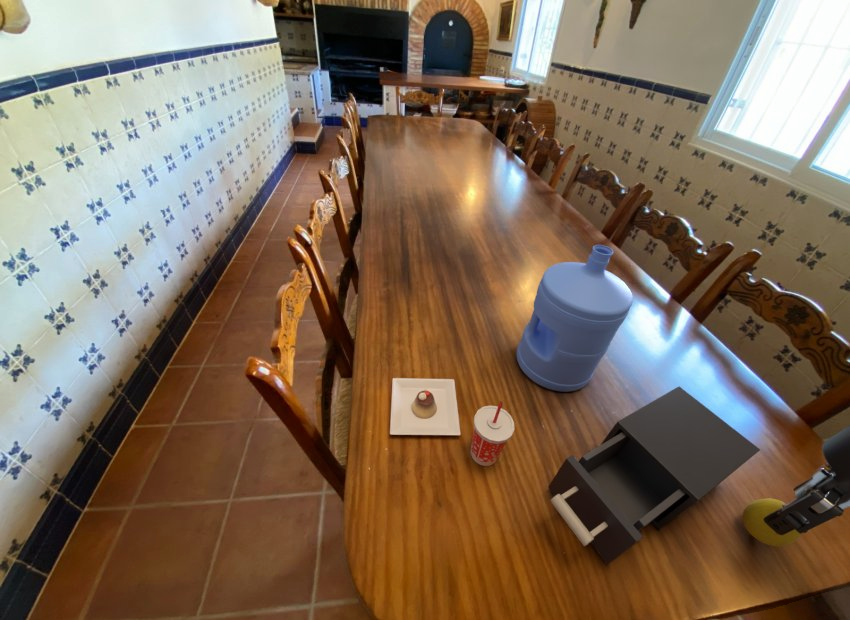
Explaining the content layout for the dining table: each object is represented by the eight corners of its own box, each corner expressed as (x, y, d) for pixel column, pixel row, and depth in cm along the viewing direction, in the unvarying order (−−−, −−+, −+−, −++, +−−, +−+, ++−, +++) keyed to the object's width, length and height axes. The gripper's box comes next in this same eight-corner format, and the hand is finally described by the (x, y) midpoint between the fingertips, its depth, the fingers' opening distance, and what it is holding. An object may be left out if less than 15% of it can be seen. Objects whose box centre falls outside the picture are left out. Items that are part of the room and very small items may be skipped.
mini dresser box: (584, 583, 46) (611, 562, 40) (526, 500, 53) (542, 472, 48) (672, 512, 53) (706, 486, 48) (611, 448, 61) (633, 418, 55)
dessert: (453, 382, 70) (456, 366, 67) (459, 438, 61) (463, 422, 58) (392, 381, 70) (392, 365, 67) (389, 438, 60) (389, 422, 57)
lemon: (722, 514, 55) (756, 490, 49) (753, 510, 55) (791, 487, 50) (751, 556, 50) (792, 535, 45) (784, 552, 51) (829, 531, 46)
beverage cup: (509, 452, 60) (530, 402, 51) (488, 478, 56) (507, 430, 47) (479, 429, 63) (495, 378, 54) (458, 452, 59) (471, 402, 50)
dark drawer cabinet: (658, 530, 52) (699, 500, 45) (591, 456, 60) (617, 421, 54) (717, 482, 58) (760, 449, 52) (649, 421, 67) (679, 385, 60)
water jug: (587, 348, 81) (645, 237, 63) (592, 403, 69) (665, 286, 51) (518, 331, 83) (555, 220, 65) (511, 381, 72) (553, 263, 54)
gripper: (927, 518, 32) (794, 569, 43) (969, 452, 38) (843, 511, 49) (828, 448, 37) (730, 509, 48) (878, 399, 43) (781, 463, 53)
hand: (787, 510), depth 48 cm, fingers open, 8 cm apart
